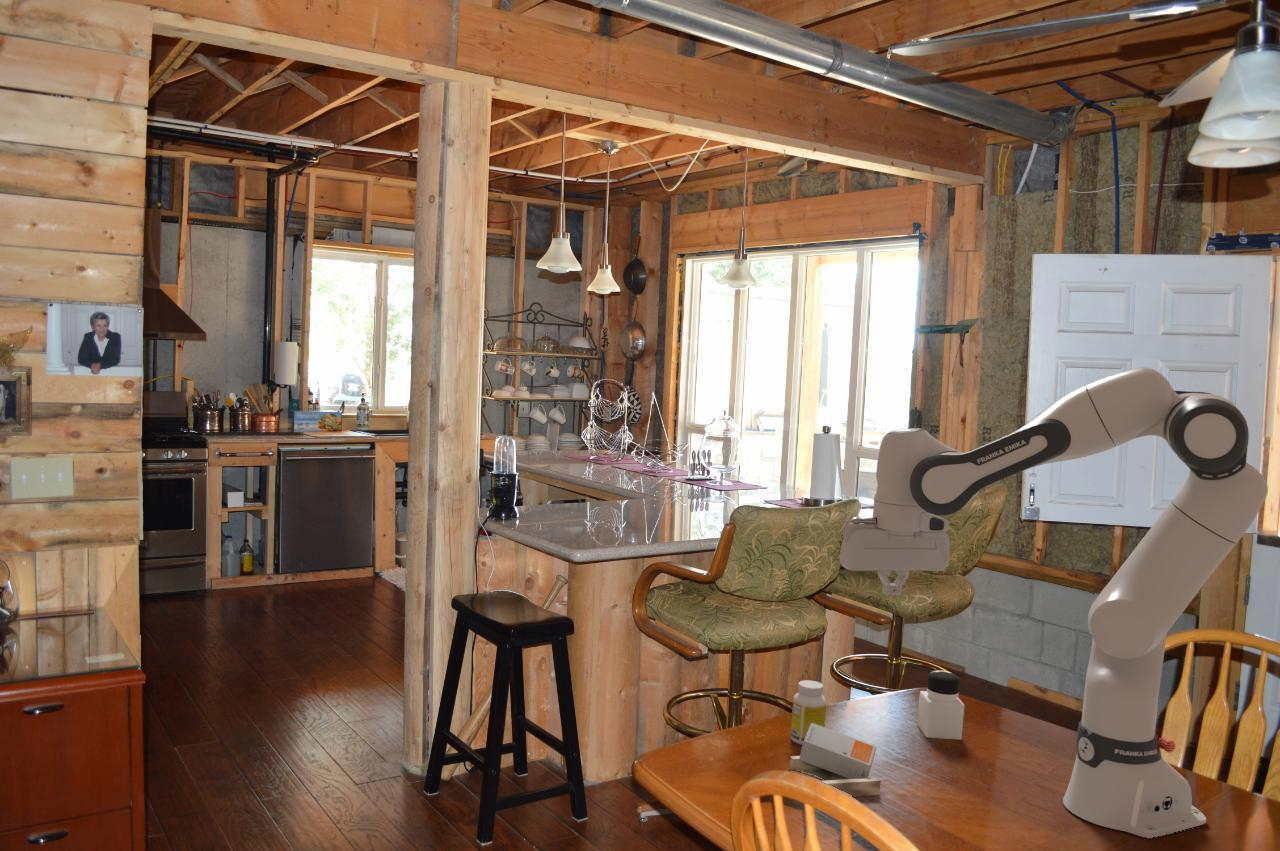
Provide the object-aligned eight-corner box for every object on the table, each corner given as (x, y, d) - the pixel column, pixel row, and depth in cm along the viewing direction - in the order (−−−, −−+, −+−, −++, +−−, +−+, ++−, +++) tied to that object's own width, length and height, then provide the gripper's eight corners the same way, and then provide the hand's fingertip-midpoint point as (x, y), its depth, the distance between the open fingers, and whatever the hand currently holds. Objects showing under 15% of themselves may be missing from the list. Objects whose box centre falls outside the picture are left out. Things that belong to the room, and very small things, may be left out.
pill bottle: (828, 740, 195) (832, 683, 195) (815, 750, 190) (820, 692, 189) (798, 731, 199) (802, 676, 198) (785, 741, 194) (789, 684, 193)
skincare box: (871, 766, 174) (803, 741, 177) (865, 785, 175) (798, 760, 179) (877, 745, 179) (811, 721, 183) (871, 764, 181) (806, 740, 184)
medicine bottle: (962, 740, 200) (967, 680, 199) (925, 738, 200) (931, 678, 199) (951, 726, 207) (957, 668, 206) (916, 724, 207) (921, 666, 206)
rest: (848, 766, 183) (849, 753, 183) (879, 794, 172) (880, 780, 172) (789, 770, 180) (790, 756, 180) (816, 798, 169) (817, 784, 169)
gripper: (853, 520, 177) (846, 599, 178) (957, 522, 182) (950, 598, 183) (836, 514, 183) (830, 590, 184) (938, 515, 188) (931, 589, 189)
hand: (891, 594), depth 184 cm, fingers closed
